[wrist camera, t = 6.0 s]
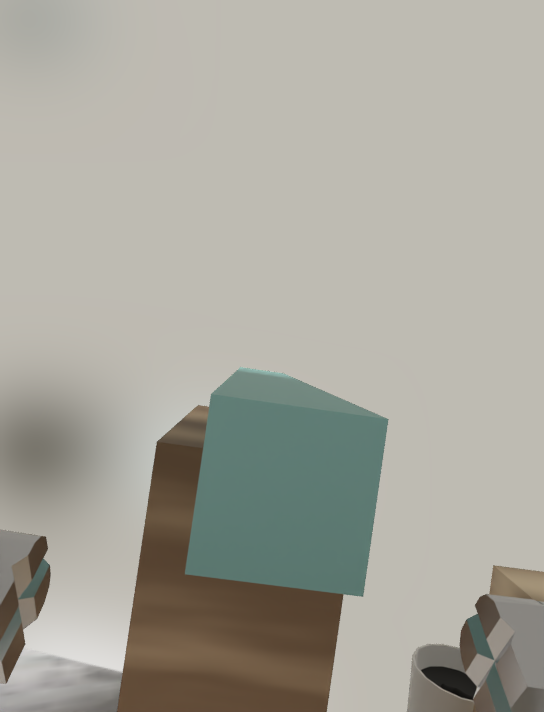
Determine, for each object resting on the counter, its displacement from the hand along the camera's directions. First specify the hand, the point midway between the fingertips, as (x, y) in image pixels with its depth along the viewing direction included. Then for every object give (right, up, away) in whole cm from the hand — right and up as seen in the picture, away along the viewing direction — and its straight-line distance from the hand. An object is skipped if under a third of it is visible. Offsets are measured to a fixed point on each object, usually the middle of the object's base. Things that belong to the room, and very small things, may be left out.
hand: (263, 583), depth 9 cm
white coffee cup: (+12, -28, +26) cm, 40 cm away
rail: (0, 0, +12) cm, 12 cm away
